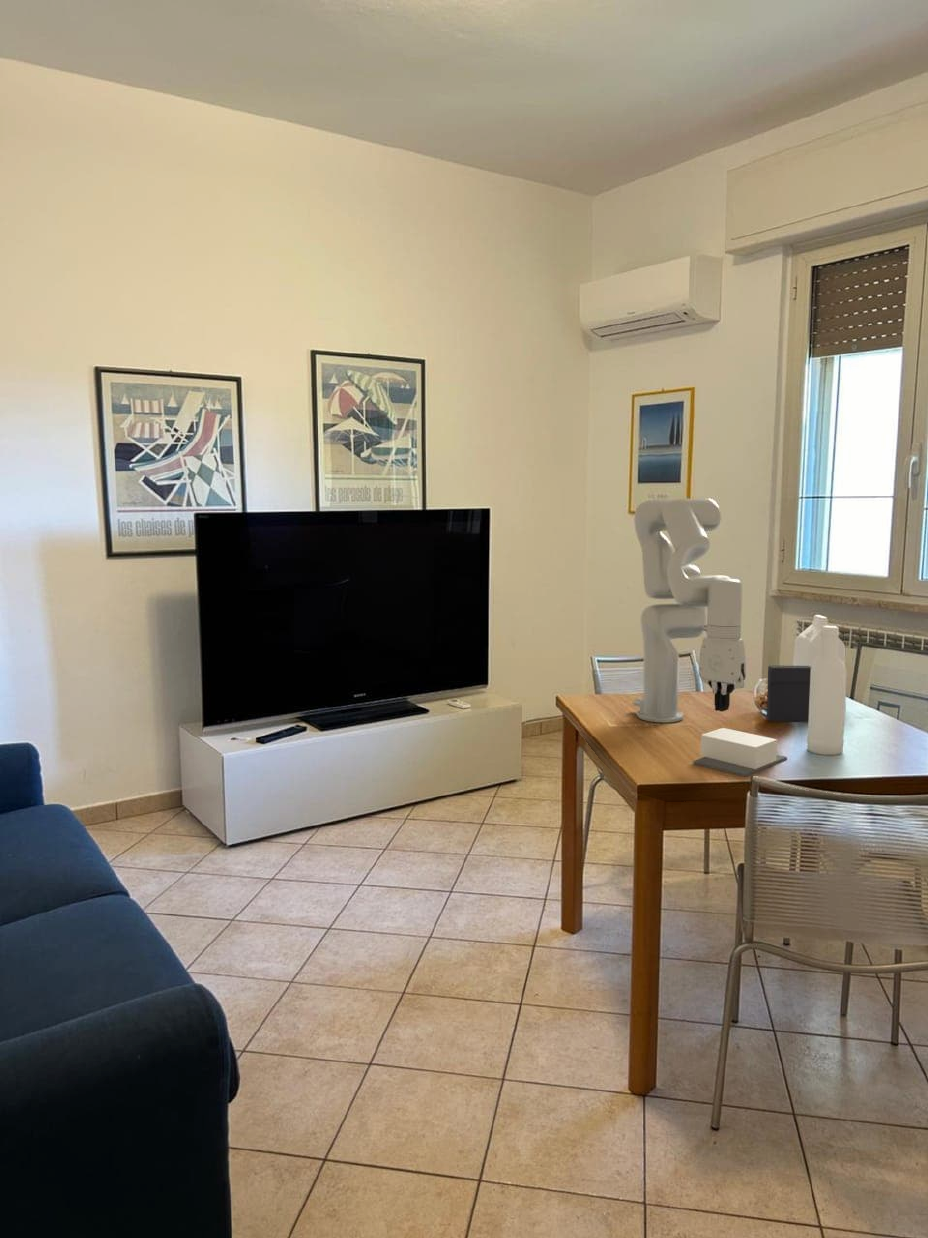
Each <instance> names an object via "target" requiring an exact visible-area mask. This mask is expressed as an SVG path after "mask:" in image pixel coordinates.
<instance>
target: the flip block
mask: <svg viewBox="0 0 928 1238" xmlns="http://www.w3.org/2000/svg"><path fill="white" fill-rule="evenodd" d="M777 747H778V739H777V738H772V737H768V736H763V735H758V734H753V733H749V732H744V731H739V730H735V729H730V728H725V727H721V728H718V729H715V730H712V731H708V732H705V733H703V734H700V757H708V758H712V759H716V760H720V761H724V762H728V763H732V764H736V765H740V766H744V767H748V768H752V769H757V768H760V767H762V766H765V765H767V764H769V763H772V762H774V761H776V755H778V754H777V751H778V749H777Z"/></svg>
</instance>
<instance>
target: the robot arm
mask: <svg viewBox="0 0 928 1238" xmlns="http://www.w3.org/2000/svg"><path fill="white" fill-rule="evenodd" d="M721 520H722V514H721V508H720V507H719V505H718V504H717V502H716V501H715V500H713V499H711V498H706V497H705V498H675V499H674V498H673V499H672V498H671V499H670V498H664V499H663V498H659V499H658V498H657V499H649V500H645V501H643V502H640V503H639V504H638V505H637V506H636V509H635V512H634V529H635V534H636V537H637V539H638V542H639V545H640V549H641V556H642V557H641V558H642V559H641V560H642V575H643V586H644V587H643V588H644V592H645V594H646V596H647V597H648V598H649V599H653V600H675V602H676V603H659V604H654V605H653V604H651V605H649V606H647V607H645V608H644V609H643V611H642V612H641V615H640V628H641V634H642V641H643V642H642V643H643V671H642V672H643V675H642V676H643V678H642V679H643V680H642V681H643V683H642V684H643V685H642V686H643V690H642V693H643V694H642V698H640V697H635V698H634V701H632V705H633V706H635V707H638V708H639V710H637V712H636V715H637V718H639V719H640V720H643V721H647V722H651V723H666V724H667V723H675V722H679V721H682V720H684V718H685V717H684V713H683V712H682V711H680V710H679V684H680V683H679V682H680V681H679V679H680V677H679V675H680V673H679V672H680V670H679V669H680V655H679V652H678V650H677V649H676V647H675V646H674V644H673V643H672V641H671V640H675V639H693V638H699V637H701V636H702V635H704V632H706V636H703V637H702V642H701V645H700V651H699V652H700V653H699V660H698V677H699V678H700V681H701V682H702V683H704V684H707V685H708V686H709V687H710V688H711V691H712V693H713V694H714V711H716V712H717V711H719V712H721V713H722V712H725V711H728V710H729V708H730V702H731V700H730V697H731V696H730V695H731V694H732V693H733V691H734V690H738V689H742V688H745V680H746V675H747V674H746V673H747V660H746V659H747V658H746V649H745V643H744V639H743V638H741V637H742V636H741V634H742V611H743V609H742V602H743V601H742V600H743V599H742V598H743V585H742V584H743V583H742V581H740V580H739V579H736V578H730V576H728V575H722V574H715V575H713V574H712V575H711V574H710V575H709V574H708V575H707V574H705V575H703V574H702V573H701V570H700V569H699V568H698V566H696V565H695V564H690V563H693V562H695V561H698V560H699V559H700V558H702V557H704V556H705V555H706V553H708V550H710V545H711V542H710V539H709V537H708V535H707V532H713V531H715V530H716V529H718V527H720V524H721ZM662 531H663V532H665V531H667V533H668V535H669V538H670V539H668V537H667V536H666V535H665V534H664V533H663V532H662ZM706 609H707V613H706Z"/></svg>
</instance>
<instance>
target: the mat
mask: <svg viewBox="0 0 928 1238" xmlns="http://www.w3.org/2000/svg"><path fill="white" fill-rule="evenodd" d="M787 758H788V757H787V756H783V755H779V754H777V755H776V761H774V762H772V763H769V764H767V765H765V766H762V767H760V768H757V769H752V768H748V767H744V766H740V765H736V764H732V763H728V762H724V761H720V760H716V759H712V758H708V757H704V756H702V757H701V758H698V759H695V760H693V764H694V765H697V766H703V767H704V768H705V767H706V768H710V769H714V770H717V771H721V772H725V773H730V774H732V775H736V776H740V777H748V776H749V775H752V774H755V773H757V772H759V771H761V770H764V769H766V768H770V767H772V766H775V765H776V764H779V763H782V762H784V761H786V760H787Z"/></svg>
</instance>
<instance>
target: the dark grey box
mask: <svg viewBox="0 0 928 1238" xmlns="http://www.w3.org/2000/svg"><path fill="white" fill-rule="evenodd" d="M767 667H768V668H767V691H766V692H767V693H766V696H767V697H766V720H768V721H769V722H770V723H771V722H773V723H775V722H777V723H782V722H783V723H808V721H809V698H810V674H811V667H810V666H793V665H768V666H767Z"/></svg>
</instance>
